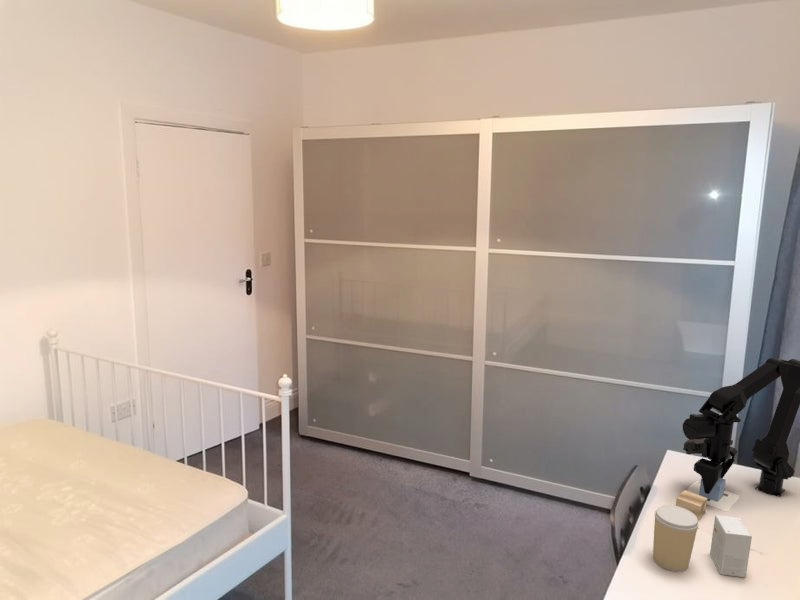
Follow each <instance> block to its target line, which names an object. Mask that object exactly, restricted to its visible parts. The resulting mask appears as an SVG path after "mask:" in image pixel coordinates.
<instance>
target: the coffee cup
mask: <svg viewBox="0 0 800 600" xmlns="http://www.w3.org/2000/svg"><path fill="white" fill-rule="evenodd" d="M699 522H700V521H698V519H697V517H696V516H695V515H694V514H693V513H692V512H690V511H689V510H687V509H684V508H682V507H678V506H676V505H672V504H663V505H661V506H658V507H657V508H656V510H655V511H654V526H653V527H654V529H653V547H652V548H653V549H652V558H653V561H654V562H655V563H656V564H657V565H658V566H659V567H661V568H663V569H665V570H668V571H672V572H684V570H685V571H687V570H688V569H689V566H690V563H691V558H692V553H693V548H694V544H695V540H696V535H697V532H698V528H699Z"/></svg>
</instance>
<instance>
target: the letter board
mask: <svg viewBox="0 0 800 600" xmlns="http://www.w3.org/2000/svg"><path fill="white" fill-rule="evenodd" d="M700 484H701V481H697V480H695V481H694V482H693V483H692V484H691V485H690V486H689V487H688V488H687V489H686V490H685V491H688V492H691V493H694V494H697V495H699V491H700ZM740 497H741V495H738V494H735V493H733V492H730V491H727V490H724V494H723V497H722V498H721V499H720V500H719V501H718V502H716V501H714V500H711V499H708V498H707V505H706V506H711V507H713V508H716V509H718V510H720V511H721V510H722V511H724V512H726V513H727V512H729V510H730V509H732V507H733V506H734V505H735V503H736V502H737V501H738V500H739V498H740Z"/></svg>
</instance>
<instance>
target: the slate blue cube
mask: <svg viewBox="0 0 800 600" xmlns="http://www.w3.org/2000/svg"><path fill="white" fill-rule="evenodd" d="M700 482H701V484H700V491H699V495H700V496H703V497H705V498H708V499H711V500H714V501H716V502H718V501H719V500H720V499H721V498H722V497H723V494H724V491H725V486H726V478H724V477H723V478H719V480H718V481H717V483H716V484H715V486H714V487H713V489H712V490H711V492H710V493H709V494H706V493H705V492H704V486H703V481H702V478H701V479H700Z"/></svg>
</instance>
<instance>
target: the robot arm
mask: <svg viewBox="0 0 800 600" xmlns="http://www.w3.org/2000/svg"><path fill="white" fill-rule="evenodd" d="M778 378H780V381H781V385H782V391H781V394H780V397H779V400H778V402H777V405H776V408H775V411H774V413H773V417H772V420H771V422H770V425H769V428H768V431H767V433H766V435H765V436H764V437H762V438H761V439H760V438H756V440H755V442H754V445H753V448H752V450H751V452H752V458H753V459H754V460H753V461H754V465H755V466H756V467H758V468H760V469H761V472H760V478H759V482H758V484H757V485H756V487H754V489H755V490H757V491H759V492H762V493H765V494H768V495H771V496H775V497H777V498H781V497H782V495H783V494H784V492H785V491H786V489H785V488H783V484H784V480H789V479H791V478H793V475H794V473H795V470H794V469H793V468H792V466H791V465H790V463H789V457H790V452H789V447H788V439H789V436H790V432H791V430H792V427H793V425H794V423H795V419H796V416H797V414H798V411H799V408H800V360H798V359H795V358H791V359H789V360H786V359H781V358H775V357H769V358H767V359H766V361H765V362H764V363H763V364H762V365H760V366H759V367H758V368H756V369H754V370H753V371H752V372H751V373H749V374H748V375H746V376H745V377H743V378H741V379H740V380H739V381H737V382H736V383H735V384H732V385H727V386H722V387H720V388H717V389H716V390H715V391H713V392H712V393H711V394H709V397H708V399H707V400H706V401H705V402H704V403H703V405H702V406H701V407H700V409H699V410H698V412H699V413H698V414H697V413H696V414H695V413H690V414H689V416H688V417H689V418H686V419H685V420H684V421H683V422H682V431H683V434H684V436H685V438H687V440H686V441H685V442H684V443H683V448H682V449H683V451H685V453H686V455H696V454H697V455H698V454H699V455H701V457H704V458H700V459H698V460H697V461H696V462H695V463H694V464H693V471H694V472H695V473H696V474H698V475H699V476H700V477H701V479H702V481H703V486H704V492H705V493H706V494H709V493H710V492H711V490H712V489H713V487H714V486H715V484H716V483H717V481H718V480H719V478H723V479H724V477H725V476H726V474H727V472H728V471H729V470H730V468H732V466H733V464H734V463H735V462H736V459H737V458H738V455H739V454H738V453H739V451H738V450H737V449H736V448H735V447H733V446H732V445H733V444H734V443H733V442H734V440H732V438H733V430H734V423H740V422H741V421H742V420H741V418H739V417H738V415H739V413H740V412H742V411H743V410H744V409H745V407H746V406H747V402H748V400H749V399H750V398H751V397H754V396H755V395H756V394H757V393H759V392H760V391H762V390H763V389H764V388H766V387H767V386H769V385H770V384H771V383H773V382H774V381H776V380H777V379H778ZM713 410H714V411H713ZM717 412H718V413H717ZM700 413H701V414H700ZM719 413H720V414H719ZM706 458H707V459H706Z"/></svg>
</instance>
